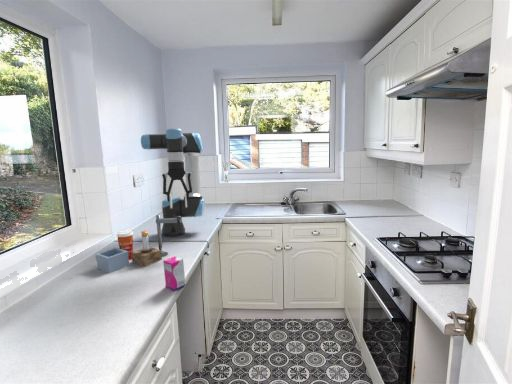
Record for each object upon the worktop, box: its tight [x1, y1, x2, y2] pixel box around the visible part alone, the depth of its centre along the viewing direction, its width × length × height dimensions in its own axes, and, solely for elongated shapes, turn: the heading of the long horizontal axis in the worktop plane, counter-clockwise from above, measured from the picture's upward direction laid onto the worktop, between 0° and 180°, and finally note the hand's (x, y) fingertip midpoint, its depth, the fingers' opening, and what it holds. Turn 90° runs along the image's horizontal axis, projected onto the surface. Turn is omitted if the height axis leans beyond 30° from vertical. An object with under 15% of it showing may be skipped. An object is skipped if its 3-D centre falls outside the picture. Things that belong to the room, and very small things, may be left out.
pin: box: [141, 230, 150, 253], centre depth 146 cm, size 3×3×15 cm
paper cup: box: [116, 229, 134, 261], centre depth 150 cm, size 8×8×14 cm
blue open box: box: [95, 247, 130, 274], centre depth 141 cm, size 10×10×7 cm
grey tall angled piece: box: [155, 214, 181, 253], centre depth 153 cm, size 13×2×20 cm, turn 92°
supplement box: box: [162, 256, 186, 292], centre depth 119 cm, size 6×6×12 cm
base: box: [162, 250, 169, 258], centre depth 154 cm, size 5×5×1 cm
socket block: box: [131, 246, 163, 267], centre depth 147 cm, size 10×10×5 cm
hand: (178, 207), depth 148 cm, fingers open, 7 cm apart
